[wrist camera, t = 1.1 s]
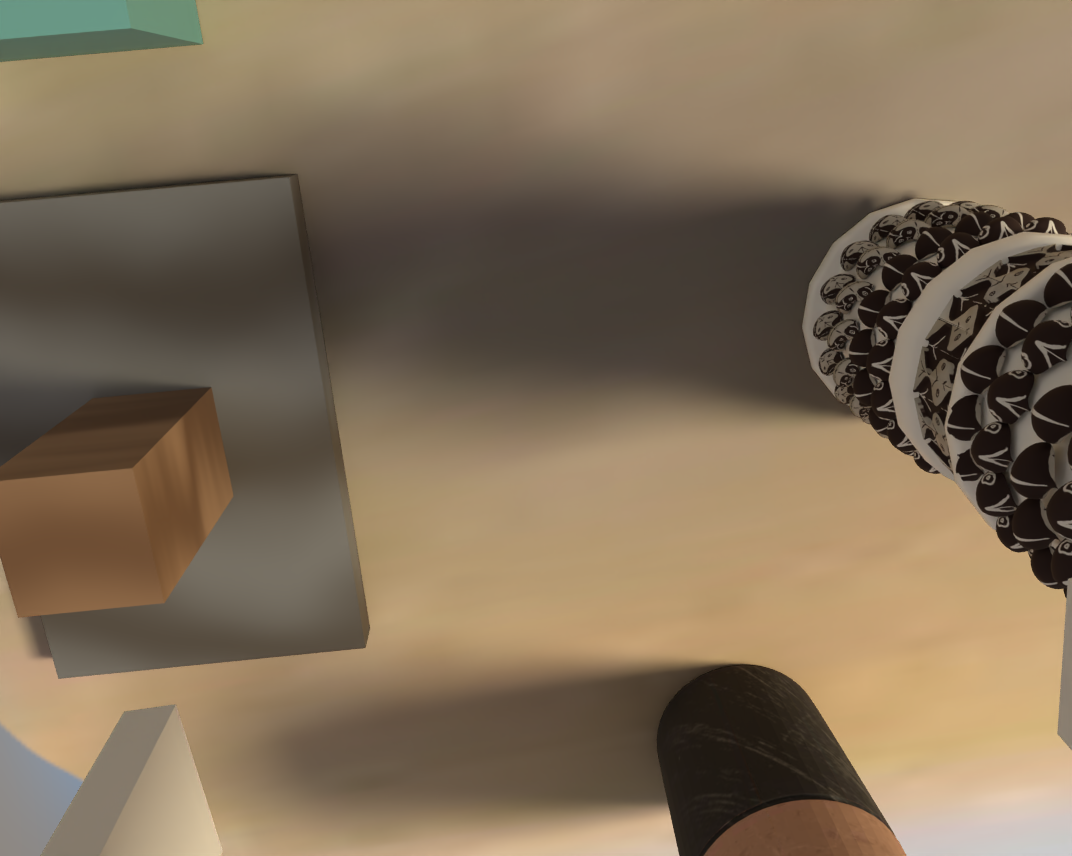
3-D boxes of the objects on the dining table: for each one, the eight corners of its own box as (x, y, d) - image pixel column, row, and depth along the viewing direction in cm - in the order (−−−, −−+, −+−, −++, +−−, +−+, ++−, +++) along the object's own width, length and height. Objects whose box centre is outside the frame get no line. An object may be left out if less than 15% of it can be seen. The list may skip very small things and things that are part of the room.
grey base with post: (-52, 205, 33) (-254, 243, 24) (297, 174, 33) (227, 199, 24) (74, 657, 39) (-51, 824, 30) (370, 628, 39) (335, 785, 30)
